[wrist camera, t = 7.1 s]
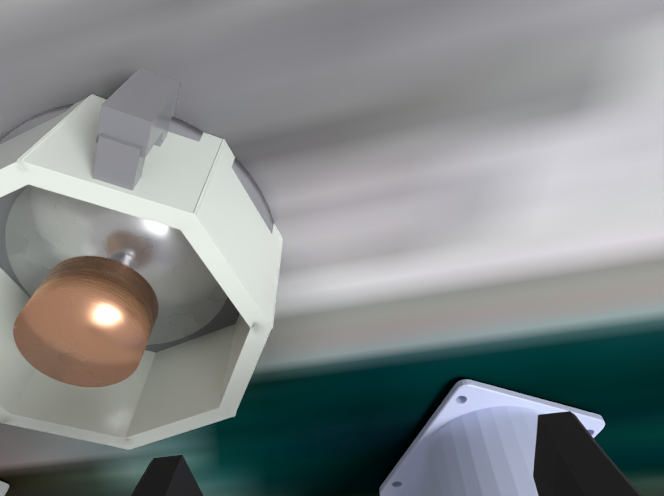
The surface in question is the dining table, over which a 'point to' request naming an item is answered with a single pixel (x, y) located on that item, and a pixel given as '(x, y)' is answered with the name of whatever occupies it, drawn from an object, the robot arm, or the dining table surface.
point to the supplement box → (3, 488)
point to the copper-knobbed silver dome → (101, 287)
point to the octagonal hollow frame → (161, 207)
